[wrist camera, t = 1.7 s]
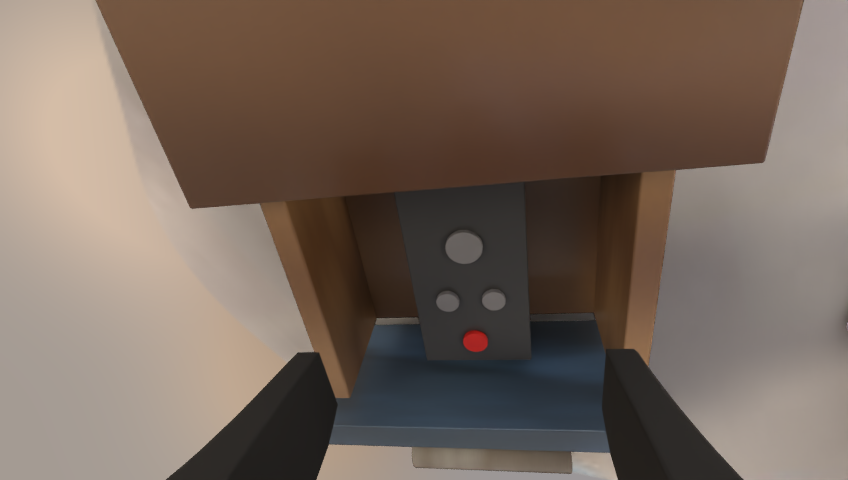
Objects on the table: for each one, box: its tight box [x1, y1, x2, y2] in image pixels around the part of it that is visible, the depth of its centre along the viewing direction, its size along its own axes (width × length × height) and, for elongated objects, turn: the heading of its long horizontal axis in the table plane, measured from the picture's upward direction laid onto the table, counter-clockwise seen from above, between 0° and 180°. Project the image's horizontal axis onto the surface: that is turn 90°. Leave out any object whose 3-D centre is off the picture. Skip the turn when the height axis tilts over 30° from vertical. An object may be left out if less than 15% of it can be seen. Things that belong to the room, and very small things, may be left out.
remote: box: [394, 182, 532, 360], centre depth 16 cm, size 4×8×3 cm, turn 8°
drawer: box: [260, 170, 676, 474], centre depth 17 cm, size 18×12×6 cm
